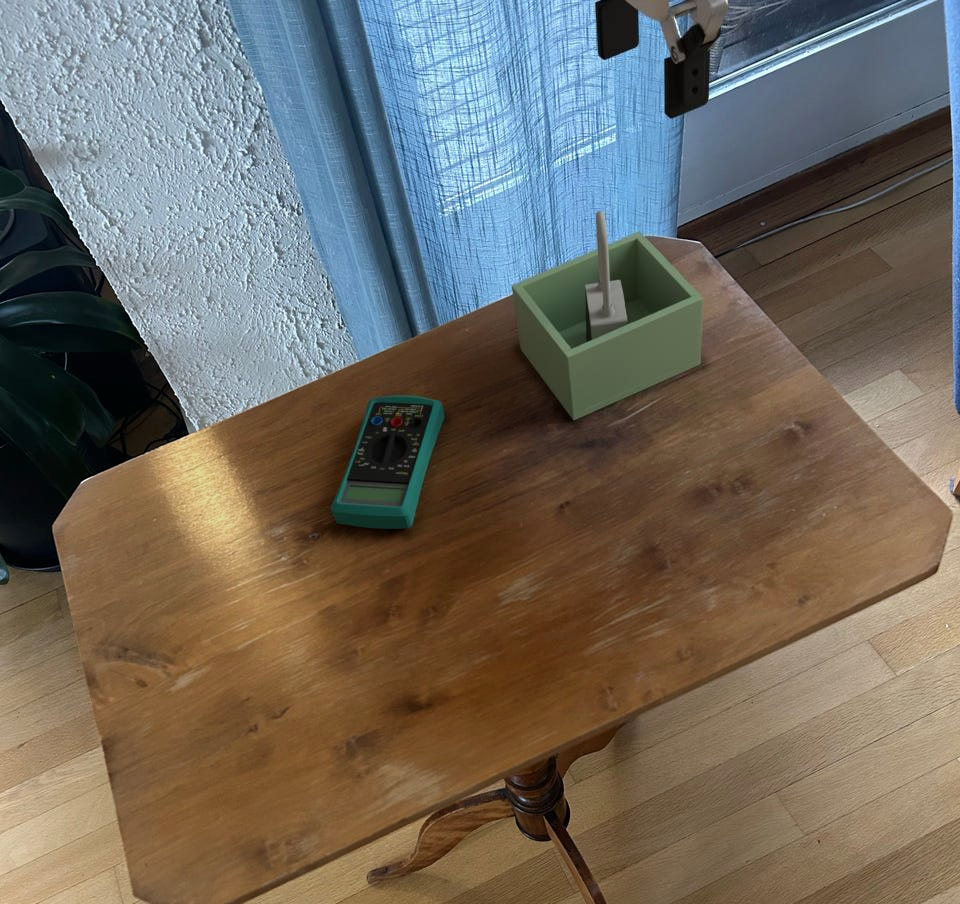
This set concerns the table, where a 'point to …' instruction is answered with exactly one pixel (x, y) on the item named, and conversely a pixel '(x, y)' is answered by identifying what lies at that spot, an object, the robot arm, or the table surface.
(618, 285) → the padlock
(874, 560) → the table surface
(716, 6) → the robot arm
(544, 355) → the holder
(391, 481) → the digital multimeter
